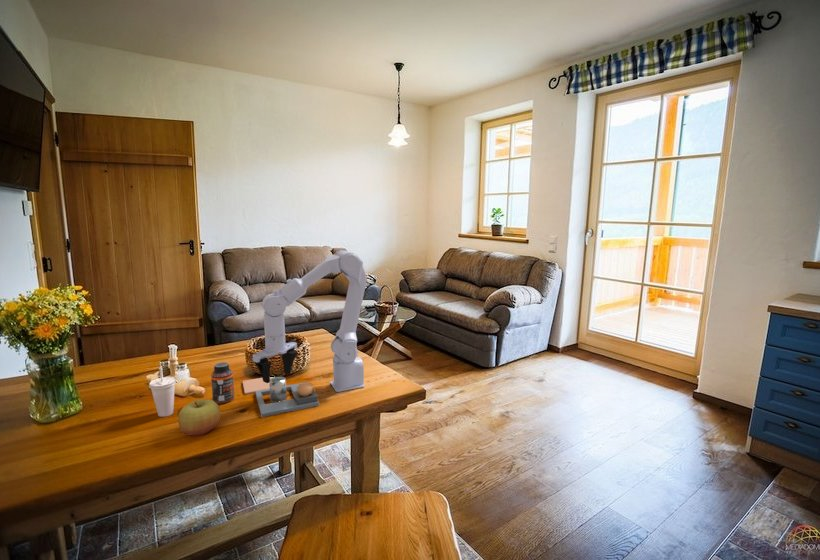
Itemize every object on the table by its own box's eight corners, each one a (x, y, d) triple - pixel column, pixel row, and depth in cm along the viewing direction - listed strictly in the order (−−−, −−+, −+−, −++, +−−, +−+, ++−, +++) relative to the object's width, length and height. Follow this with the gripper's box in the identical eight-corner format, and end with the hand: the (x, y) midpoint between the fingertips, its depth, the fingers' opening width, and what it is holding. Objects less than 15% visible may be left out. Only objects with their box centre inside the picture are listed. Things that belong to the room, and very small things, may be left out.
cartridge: (285, 393, 127) (284, 373, 126) (287, 400, 123) (286, 379, 122) (269, 396, 125) (268, 376, 124) (271, 403, 121) (270, 382, 120)
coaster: (273, 377, 140) (273, 375, 139) (278, 388, 131) (278, 387, 131) (242, 382, 135) (242, 380, 135) (245, 394, 126) (244, 392, 126)
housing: (307, 384, 134) (306, 377, 133) (318, 405, 120) (318, 397, 119) (255, 394, 127) (255, 386, 126) (261, 417, 113) (261, 408, 112)
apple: (179, 426, 108) (176, 398, 107) (219, 417, 113) (217, 390, 111) (179, 444, 100) (176, 414, 98) (223, 434, 104) (220, 405, 103)
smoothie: (151, 421, 110) (145, 372, 108) (153, 411, 116) (148, 364, 114) (178, 416, 113) (173, 368, 111) (179, 406, 119) (174, 360, 116)
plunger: (311, 392, 124) (310, 381, 124) (314, 398, 121) (314, 387, 120) (296, 395, 122) (296, 384, 122) (299, 401, 119) (299, 390, 118)
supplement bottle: (226, 405, 119) (223, 369, 117) (208, 403, 121) (205, 367, 119) (238, 396, 125) (236, 361, 123) (221, 394, 126) (218, 360, 124)
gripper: (262, 343, 112) (265, 389, 115) (303, 330, 124) (304, 372, 127) (247, 338, 116) (249, 383, 119) (287, 327, 128) (289, 368, 130)
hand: (277, 377), depth 123 cm, fingers open, 7 cm apart
